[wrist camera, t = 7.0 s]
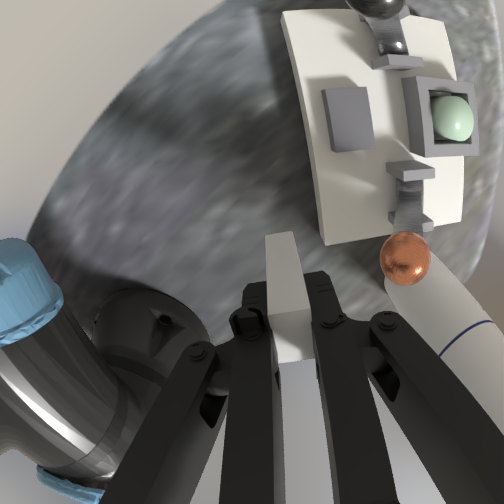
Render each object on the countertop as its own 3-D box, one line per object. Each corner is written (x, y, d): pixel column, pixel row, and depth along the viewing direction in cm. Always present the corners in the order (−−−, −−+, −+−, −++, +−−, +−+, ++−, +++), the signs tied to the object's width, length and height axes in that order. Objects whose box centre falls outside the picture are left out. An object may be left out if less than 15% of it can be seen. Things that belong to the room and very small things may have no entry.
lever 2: (395, 206, 22) (374, 295, 13) (394, 173, 21) (376, 242, 12) (424, 208, 21) (426, 301, 12) (425, 175, 19) (434, 248, 10)
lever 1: (378, 57, 16) (344, 15, 7) (370, 25, 15) (325, -39, 6) (411, 57, 15) (413, 10, 6) (402, 24, 13) (389, -46, 4)
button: (424, 136, 18) (444, 141, 16) (419, 94, 17) (439, 94, 14) (454, 135, 18) (474, 141, 15) (450, 96, 16) (471, 98, 14)
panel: (319, 233, 26) (333, 264, 21) (280, 21, 17) (286, -4, 12) (448, 212, 24) (478, 234, 19) (429, 26, 15) (462, 15, 10)
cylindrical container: (399, 240, 26) (540, 457, 4) (444, 253, 27) (570, 424, 5) (374, 296, 29) (457, 508, 7) (419, 302, 30) (507, 476, 8)
